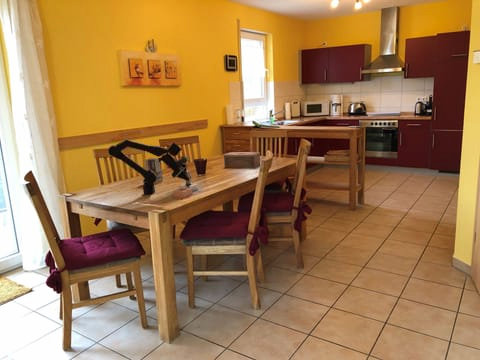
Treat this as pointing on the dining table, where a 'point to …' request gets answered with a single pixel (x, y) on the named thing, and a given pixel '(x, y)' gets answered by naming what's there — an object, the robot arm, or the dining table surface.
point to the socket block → (193, 186)
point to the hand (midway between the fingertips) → (190, 179)
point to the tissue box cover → (242, 159)
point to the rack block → (182, 192)
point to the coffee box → (155, 168)
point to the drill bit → (188, 177)
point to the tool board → (187, 196)
